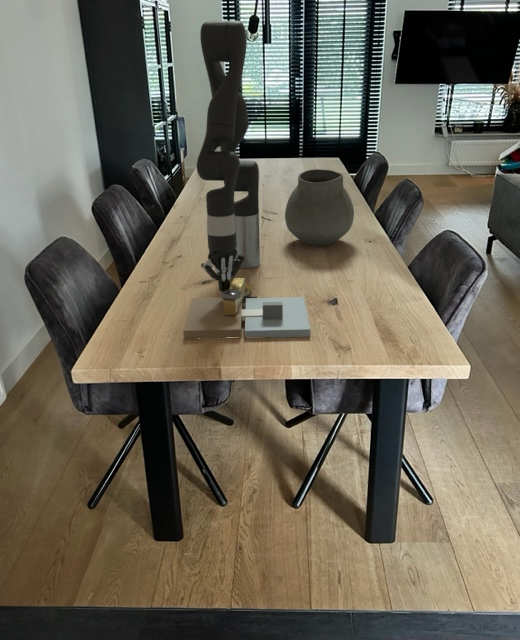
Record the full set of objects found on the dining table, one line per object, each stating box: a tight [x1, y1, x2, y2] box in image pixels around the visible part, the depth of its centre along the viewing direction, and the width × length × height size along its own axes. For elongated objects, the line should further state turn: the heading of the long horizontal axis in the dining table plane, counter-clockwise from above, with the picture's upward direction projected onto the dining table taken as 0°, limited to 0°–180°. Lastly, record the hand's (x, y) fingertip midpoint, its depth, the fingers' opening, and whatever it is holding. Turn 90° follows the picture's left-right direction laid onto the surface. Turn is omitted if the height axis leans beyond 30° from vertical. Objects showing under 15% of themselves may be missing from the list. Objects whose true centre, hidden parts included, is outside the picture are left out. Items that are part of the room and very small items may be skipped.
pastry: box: [230, 280, 253, 297], centre depth 166 cm, size 9×7×4 cm
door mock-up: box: [183, 296, 311, 340], centre depth 148 cm, size 20×31×6 cm, turn 91°
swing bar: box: [220, 277, 246, 315], centre depth 151 cm, size 16×5×5 cm, turn 172°
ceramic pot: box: [284, 168, 355, 247], centre depth 201 cm, size 24×24×25 cm
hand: (224, 292), depth 155 cm, fingers closed
